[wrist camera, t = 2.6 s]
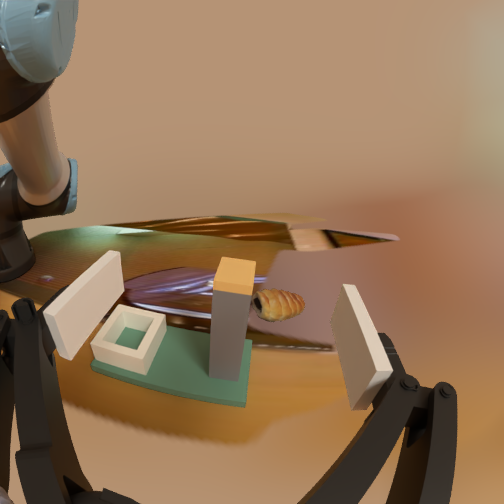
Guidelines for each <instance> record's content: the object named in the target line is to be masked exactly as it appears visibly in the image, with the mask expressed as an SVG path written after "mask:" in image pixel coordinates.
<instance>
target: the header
mask: <svg viewBox="0 0 504 504" xmlns="http://www.w3.org/2000/svg"><path fill="white" fill-rule="evenodd" d="M125 327H128V328H132V329H136V330H140V331H144V332H147V333H146V334H145V336H144V338H143V340H142V342H141V344H140V345H139V347H138V349H137V350H135V349H131V348H127V347H124V346H120V345H117V344H115V342H116V341H117V339H118V338H119V336H120V334H121V333H122V331H123V330H124V328H125ZM166 331H167V329H166V316H165V315H164V314H160V313H155V312H150V311H146V310H141V309H137V308H133V307H128V306H124V305H120V304H119V305H118V306H117V307H116V309H115V310H114V311H113V313H112V314H111V315H110V317H109V318H108V319H107V321H106V322H105V323H104V325H103V326H102V328H101V329H100V330H99V332H98V333H97V334H96V336H95V337H94V339H93V340H92V341H91V343H90V345H91V348H92V351H93V353H94V356H95V359H96V360H98V361H101V362H104V363H107V364H110V365H113V366H116V367H119V368H122V369H126V370H129V371H132V372H136V373H139V374H143V375H147V372H148V370H149V368H150V366H151V363H152V361H153V359H154V357H155V355H156V352H157V350H158V348H159V346H160V344H161V342H162V340H163V337H164V335H165V333H166Z"/></svg>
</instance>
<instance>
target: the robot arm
mask: <svg viewBox="0 0 504 504" xmlns="http://www.w3.org/2000/svg"><path fill="white" fill-rule="evenodd" d="M77 15H78V0H0V148H1V150H2V151H3V153H4V155H5V157H6V158H7V160H8V162H9V163H6V164H3V165H1V166H0V282H5V281H9V280H12V279H15V278H17V277H19V276H21V275H22V274H24V273H25V272H27V271H28V270H29V269H30V268H31V267H32V266H33V264H34V263H35V255H34V250H33V248H32V246H31V244H30V242H29V240H28V238H27V236H26V234H25V232H24V230H23V225H22V221H23V220H28V219H35V218H41V217H48V216H56V215H65V214H67V213H72V212H74V211H75V209H76V204H77V169H78V167H77V161H76V160H75V159H70V158H68V159H67V158H66V157H65V156H64V154H63V153H61V152H60V151H58V148H57V144H56V138H55V134H54V128H53V123H52V117H51V111H50V104H49V95H48V91H49V89H50V88H51V86H52V85H53V83H54V81H55V79H56V77H58V76H60V75H61V74H62V73H63V72H64V70H65V69H66V67H67V64H68V62H69V59H70V56H71V52H72V48H73V43H74V38H75V24H76V21H77ZM123 292H124V285H123V277H122V268H121V258H120V252H117V251H111V250H109V251H108V252H107V253H106V254H105V255H103V256H102V257H101V258H100V259H99V260H98V261H97V262H95V263H94V264H93V265H92V266H91V267H90V268H89V269H87V270H86V271H85V272H84V273H83V274H82V275H81V276H80V277H78V278H77V279H76V280H75V281H74V282H73V283H72V284H71V285H70V286H69V285H67V286H65V287H63V288H61V289H60V290H59V291H58V292H57V293H55V295H53V296H52V297H51V298H50V300H48V301H47V302H46V303H45V304H44V305H43V306H42V307H41V308H40V309H39V310H38V311H36V308H35V305H34V302H33V300H32V299H30V298H22V299H19V300H17V301H15V302H14V303H13V305H12V307H11V309H12V312H13V315H14V317H15V319H10V318H9V316H8V313H7V311H5V310H0V504H14V503H13V501H12V500H11V499H9V496H8V489H9V478H10V477H9V476H10V443H11V430H12V429H11V428H12V420H13V412H14V405H15V409H16V418H17V419H16V420H17V428H18V435H19V441H20V450H19V451H16V454H15V459H16V465H17V468H18V474H19V477H20V482H21V485H22V489H23V492H24V496H25V499H26V502H27V504H140V503H138V502H136V501H134V500H133V499H131V498H128V497H126V496H123V495H120V494H117V493H115V492H113V491H110V490H108V489H105V488H103V491H102V492H101V491H93V489H92V487H91V485H90V484H89V482H88V480H87V479H86V477H85V476H84V474H83V472H82V470H81V468H80V465H79V462H78V459H77V456H76V453H75V450H74V447H73V443H72V440H71V436H70V433H69V430H68V426H67V422H66V418H65V414H64V409H63V404H62V400H61V395H60V389H59V384H58V377H57V371H56V364H55V357H54V354H53V351H54V350H55V348H57V351H58V353H59V355H60V356H61V357H63V358H66V359H68V360H70V361H71V360H72V359H73V357H74V356H75V355H76V353H77V352H78V350H79V349H80V348H81V346H82V345H83V343H84V342H85V341H86V339H87V338H88V337H89V335H90V334H91V333H92V331H93V330H94V329H95V327H96V326H97V325H98V323H99V322H100V321H101V319H102V318H103V317H104V316H105V314H106V313H107V312H108V310H109V309H110V308H111V307H112V305H113V304H114V303H115V302H116V300H117V299H118V298H119V297H120V295H121V294H122V293H123ZM330 323H331V327H332V331H333V335H334V339H335V343H336V346H337V350H338V354H339V358H340V363H341V367H342V371H343V375H344V380H345V384H346V388H347V393H348V397H349V402H350V407H351V410H366V409H367V408H368V407H369V405H370V404H371V403H372V405H373V408H374V409H373V411H372V412H371V413H370V414H369V416H368V417H367V418H366V420H365V421H364V424H363V425H362V427H361V428H360V430H359V431H358V432H357V434H356V436H355V437H354V438H353V439H352V441H351V442H350V444H349V445H348V446H347V448H346V449H345V450H344V451H343V453H342V454H341V455H340V456H339V458H338V459H337V460H336V461H335V463H334V464H333V465H332V466H331V467H330V469H329V470H328V471H327V472H326V473H325V474H324V476H323V477H322V478H321V479H320V480H319V481H318V482H317V483H316V485H315V486H314V487H313V488H312V489H311V490H310V491H309V492H308V493H307V494H306V495H305V496H304V497H303V498H302V499H301V500H300V501H299V502H298V503H297V504H358V503H359V501H360V500H361V498H362V497H363V496H364V494H365V493H366V491H367V490H368V488H369V487H370V486H371V484H372V483H373V481H374V480H375V478H376V476H377V475H378V473H379V471H380V470H381V468H382V467H383V465H384V464H385V462H386V460H387V458H388V457H389V455H390V453H391V451H392V450H393V448H394V446H395V444H396V442H397V440H398V438H399V436H400V434H401V432H402V430H403V428H404V427H405V433H404V438H403V443H402V448H401V452H400V456H399V460H398V464H397V468H396V472H395V475H394V479H393V483H392V486H391V489H390V493H389V495H388V498H387V501H386V504H449V502H450V497H451V491H452V484H453V478H454V470H455V460H456V447H457V394H456V391H455V389H454V388H453V387H452V386H451V385H450V384H448V383H446V382H439V383H438V384H436V386H435V387H434V388H433V389H432V388H427V387H422V386H420V384H419V382H418V381H417V379H416V378H414V377H413V376H410V375H408V374H406V372H405V370H404V367H403V365H402V363H401V361H400V358H399V356H398V354H397V352H396V350H395V349H394V345H393V343H392V341H391V339H390V338H389V337H388V336H387V335H386V334H385V333H377V331H376V329H375V327H374V325H373V322H372V320H371V318H370V316H369V314H368V312H367V310H366V307H365V305H364V303H363V301H362V299H361V297H360V295H359V293H358V291H357V289H356V287H355V285H348V284H343V285H342V288H341V291H340V294H339V298H338V300H337V303H336V307H335V310H334V312H333V315H332V318H331V321H330ZM1 350H2V351H3V353H2V355H1Z"/></svg>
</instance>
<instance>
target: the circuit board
mask: <svg viewBox="0 0 504 504" xmlns="http://www.w3.org/2000/svg"><path fill="white" fill-rule="evenodd" d="M166 329H167V331H166V333H165V335H164V337H163V340H162V342H161V344H160V346H159V348H158V350H157V352H156V355H155V357H154V359H153V361H152V363H151V366H150V368H149V370H148V372H147V375H143V374H139V373H136V372H132V371H129V370H126V369H122V368H119V367H116V366H113V365H110V364H107V363H104V362H101V361H98V360H96V359H95V358H94V360H93V361H92V363H91V364H90V365H91V368H92V370H93V371H95V372H98V373H101V374H104V375H106V376H109V377H112V378H115V379H118V380H121V381H125V382H128V383H131V384H134V385H138V386H141V387H145V388H148V389H152V390H156V391H160V392H164V393H168V394H172V395H176V396H181V397H185V398H190V399H195V400H200V401H205V402H211V403H217V404H223V405H230V406H237V407H244V408H245V405H246V398H247V388H248V378H249V368H250V358H251V348H252V340H247V339H245V342H244V348H243V355H242V361H241V367H240V374H239V380H238V382H236V381H229V380H223V379H217V378H211V377H209V358H210V335H211V334H208V333H202V332H197V331H191V330H186V329H181V328H176V327H171V326H166ZM146 333H147V332H144V331H140V330H136V329H132V328H128V327H125V328H124V330H123V331H122V333H121V334H120V336H119V338H118V339H117V341H116V342H115V344H117V345H120V346H124V347H127V348H131V349H135V350H137V349H138V347H139V345H140V344H141V342H142V340H143V338H144V336H145V334H146Z"/></svg>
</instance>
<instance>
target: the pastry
mask: <svg viewBox="0 0 504 504" xmlns="http://www.w3.org/2000/svg"><path fill="white" fill-rule="evenodd" d="M251 301H252V304H253V305H252V307H253V309H254V310H255V311H256V312H257V315H258V317H259V318H261V319H264V320H266V321H269V322H270V321H271V322H275V321H283V320H286V319H290V318H293V317H295V316H297V315H299V314H300V313H301V312H302V311H303V310H304V308H305V307H304V306H305V303H304V301H303V298H302V297H301V296H299V295H297V294H295V293H290V292H286V291H283V290H276V289H271V290H267V289H263V290H262V291H261V292H259V291H257V292H256V293H255V294H254V295H253V296H252V298H251Z"/></svg>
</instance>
